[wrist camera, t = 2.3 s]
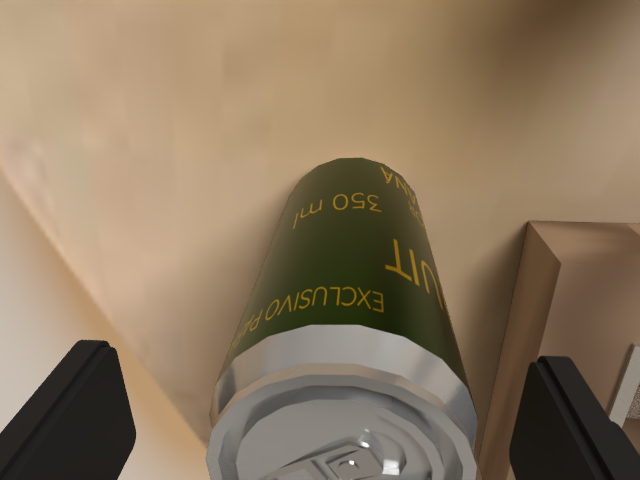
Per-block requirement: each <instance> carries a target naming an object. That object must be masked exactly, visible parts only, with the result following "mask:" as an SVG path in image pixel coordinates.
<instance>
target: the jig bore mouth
mask: <svg viewBox="0 0 640 480" xmlns="http://www.w3.org/2000/svg"><path fill="white" fill-rule="evenodd" d="M639 382H640V343H632V345H631V348H630V351H629V354H628V356H627V359H626V362H625V365H624V367H623V370H622V373H621V376H620V378H619V381H618V384H617V387H616V389H615V392H614V395H613V398H612V400H611V403H610V406H609V409H608V412H607V415H608V417H609V419H610V420H611V421H613V422H615V423H616V424H618V425H619V426H620V427H621V428H622V426H623V424H624V421H625V418H626V416H627V413H628V411H629V408H630V406H631V403H632V400H633V398H634V395H635V393H636V390H637V388H638V385H639Z"/></svg>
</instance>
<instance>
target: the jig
mask: <svg viewBox="0 0 640 480" xmlns="http://www.w3.org/2000/svg"><path fill="white" fill-rule="evenodd" d="M632 343H640V224H627V223H590V222H554V221H528V226H527V231H526V235H525V240H524V245H523V250H522V255H521V259H520V264H519V269H518V274H517V278H516V283H515V288H514V293H513V298H512V302H511V307H510V312H509V317H508V322H507V326H506V331H505V336H504V341H503V346H502V350H501V355H500V360H499V365H498V369H497V374H496V379H495V384H494V389H493V393H492V398H491V403H490V408H489V413H488V417H487V422H486V427H485V432H484V436H483V441H482V446H481V451H480V456H479V460H478V463H479V467H480V471H481V475H482V479H483V480H516V479H515V476H514V473H513V470H512V467H511V464H510V459H509V447H510V442H511V438H512V434H513V430H514V426H515V421H516V417H517V413H518V409H519V405H520V400H521V396H522V392H523V388H524V384H525V379H526V375H527V371H528V367H529V364H530V363H531V362H537V359H538V358H539V356H567V357H569V358H571V360H572V361H573V362H574V364H575V365H576V367H577V369H578V370H579V372H580V373H581V375H582V376H583V378H584V379H585V381H586V383H587V384H588V386H589V387H590V389H591V390H592V392H593V394H594V395H595V397H596V398H597V400H598V401H599V403H600V405H601V406H602V408H603V409H604V411H605V412H606V414H607V412H608V409H609V406H610V403H611V400H612V398H613V395H614V392H615V389H616V387H617V384H618V381H619V378H620V376H621V373H622V370H623V367H624V365H625V362H626V359H627V356H628V354H629V351H630V348H631V345H632ZM622 430H623V431H624V432H625V434H626V435H627V437H628V438H629V440H630V441H631V443H632V444H633V446H634V448H635V449H636V451H637V452H638V454H639V455H640V419H625V421H624V424H623V426H622Z"/></svg>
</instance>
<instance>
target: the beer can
mask: <svg viewBox="0 0 640 480" xmlns="http://www.w3.org/2000/svg"><path fill="white" fill-rule="evenodd" d="M209 415H210V420H211V425H212V431H211V436H210V441H209V445H208V450H207V455H206V462H207V466H208V470H209V474H210V478H211V480H475V479H476V471H477V465H476V461H475V457H474V451H475V442H476V434H477V425H478V418H477V414H476V410H475V407H474V403H473V400H472V396H471V392H470V389H469V385H468V381H467V378H466V374H465V371H464V367H463V363H462V360H461V356H460V352H459V349H458V345H457V342H456V338H455V334H454V331H453V327H452V324H451V320H450V316H449V313H448V309H447V305H446V302H445V298H444V295H443V291H442V287H441V284H440V280H439V276H438V273H437V269H436V266H435V262H434V258H433V255H432V251H431V247H430V244H429V240H428V237H427V233H426V229H425V226H424V222H423V218H422V215H421V211H420V208H419V205H418V202H417V199H416V196H415V193H414V191H413V190H412V189H411V188H410V186H409V185H408V184H407V182H406V181H405V180H404V179H403V177H402V176H401V175H399V174H398V173H396V172H395V171H393V170H392V169H390V168H389V167H387V166H386V165H384V164H382V163H379V162H375V161H371V160H368V159H364V158H339V159H336V160H333V161H330V162H327V163H325V164H322V165H319V166H317V167H316V168H314V169H313V170H312V171H311V172H309V173H308V174H307V175H305V176H304V177H303V178H302V179H301V180H300V181H299V183H298V184H297V186H296V187H295V189H294V190H293V192H292V193H291V195H290V196H289V199H288V202H287V204H286V207H285V209H284V212H283V214H282V217H281V219H280V222H279V224H278V227H277V230H276V232H275V235H274V237H273V240H272V242H271V245H270V247H269V250H268V252H267V255H266V258H265V260H264V263H263V265H262V268H261V270H260V273H259V275H258V278H257V281H256V283H255V286H254V288H253V291H252V293H251V296H250V298H249V301H248V303H247V306H246V309H245V311H244V314H243V316H242V319H241V321H240V324H239V326H238V329H237V331H236V334H235V337H234V339H233V342H232V344H231V347H230V349H229V352H228V354H227V357H226V359H225V362H224V365H223V367H222V370H221V372H220V375H219V377H218V380H217V382H216V385H215V390H214V395H213V400H212V404H211V409H210V414H209Z"/></svg>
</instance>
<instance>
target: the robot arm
mask: <svg viewBox="0 0 640 480" xmlns="http://www.w3.org/2000/svg"><path fill="white" fill-rule="evenodd" d="M135 439H136V429H135V425H134V421H133V417H132V413H131V409H130V405H129V400H128V396H127V392H126V388H125V384H124V379H123V375H122V372H121V367H120V363H119V359H118V355H117V351H116V349H115V348H113V347H110V345H109V343H108V342H107V341H100V340H99V341H98V340H80V341H78V342H77V343H76V344H75V345H74V346H73V347H72V348H71V350H70V351H69V352H68V353H67V354H66V356H65V357H64V358H63V359H62V360H61V362H60V363H59V364H58V365H57V366H56V368H55V369H54V370H53V371H52V372H51V374H50V375H49V376H48V377H47V378H46V380H45V381H44V382H43V383H42V384H41V386H40V387H39V388H38V389H37V390H36V391H35V393H34V394H33V395H32V396H31V397H30V399H29V400H28V401H27V402H26V403H25V405H24V406H23V407H22V408H21V409H20V411H19V412H18V413H17V414H16V415H15V416H14V418H13V419H12V420H11V421H10V423H9V424H8V425H7V426H6V427H5V428H4V430H3V431H2V432H1V433H0V480H117V479H118V477H119V475H120V473H121V471H122V469H123V467H124V465H125V463H126V461H127V459H128V457H129V455H130V453H131V451H132V449H133V446H134V443H135ZM509 459H510V464H511V467H512V470H513V473H514V476H515V479H516V480H640V455H639V454H638V452H637V451H636V449H635V448H634V446H633V444H632V443H631V441H630V440H629V438H628V437H627V435H626V434H625V432H624V431H623V430H622V428H621V427H620V426H619V425H618V424H616V423H615V422H613V421H611V420H610V419H609V417H608V415H607V414H606V412H605V411H604V409H603V408H602V406H601V405H600V403H599V401H598V400H597V398H596V397H595V395H594V394H593V392H592V390H591V389H590V387H589V386H588V384H587V383H586V381H585V379H584V378H583V376H582V375H581V373H580V372H579V370H578V369H577V367H576V365H575V364H574V362H573V361H572V360H571V358H569V357H567V356H539V358H538V359H537V362H531V363H530V364H529V367H528V371H527V375H526V379H525V384H524V388H523V392H522V396H521V400H520V405H519V409H518V413H517V417H516V421H515V426H514V430H513V434H512V438H511V442H510V447H509Z"/></svg>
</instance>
